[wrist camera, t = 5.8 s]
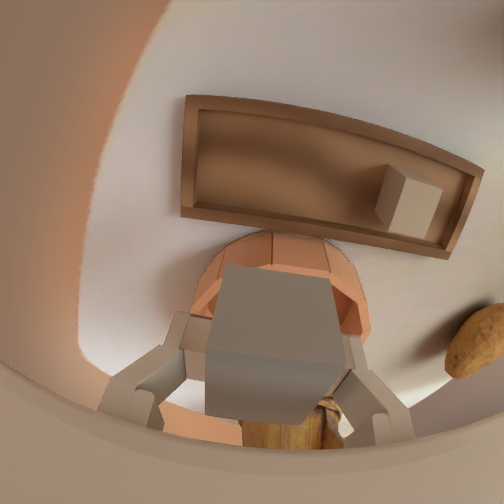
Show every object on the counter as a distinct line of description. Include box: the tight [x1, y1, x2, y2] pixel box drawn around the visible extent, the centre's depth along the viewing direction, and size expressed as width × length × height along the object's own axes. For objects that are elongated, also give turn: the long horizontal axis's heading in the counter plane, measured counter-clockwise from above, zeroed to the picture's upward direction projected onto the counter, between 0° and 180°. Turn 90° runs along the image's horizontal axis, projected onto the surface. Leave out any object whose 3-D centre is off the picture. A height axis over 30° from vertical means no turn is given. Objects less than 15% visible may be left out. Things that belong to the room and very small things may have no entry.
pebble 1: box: [205, 263, 347, 425], centre depth 9 cm, size 4×4×4 cm
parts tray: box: [181, 95, 484, 260], centre depth 21 cm, size 10×26×2 cm, turn 83°
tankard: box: [238, 394, 344, 450], centre depth 31 cm, size 18×24×25 cm
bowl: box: [190, 230, 371, 345], centre depth 27 cm, size 17×17×6 cm
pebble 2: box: [374, 164, 443, 239], centre depth 19 cm, size 4×4×4 cm
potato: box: [445, 303, 504, 379], centre depth 27 cm, size 10×14×8 cm
